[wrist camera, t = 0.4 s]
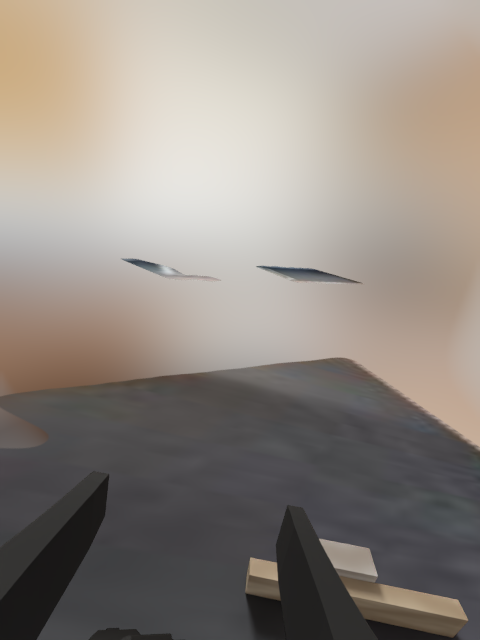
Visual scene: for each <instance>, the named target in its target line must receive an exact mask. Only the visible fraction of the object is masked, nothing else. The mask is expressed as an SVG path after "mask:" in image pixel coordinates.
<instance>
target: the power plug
mask: <svg viewBox="0 0 480 640" xmlns="http://www.w3.org/2000/svg"><path fill="white" fill-rule="evenodd" d="M89 640H173V639H172V638H171V634H151V635H140V633H139V632H138V631H137V630H136V629H128V630H120V629H119V628H107V629H106V630H98V631H97V632H96V633H95V634H94V635H93V636H92V637H91V638H90V639H89Z"/></svg>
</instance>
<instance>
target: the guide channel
mask: <svg viewBox="0 0 480 640" xmlns="http://www.w3.org/2000/svg"><path fill="white" fill-rule="evenodd" d="M319 540H320V542H321V544H322V546H323V548H324V550H325V552H326V553H327V555H328V557H329V559H330V561H331V563H332V564H333V566H334V568H335V570H336V571H337V573H338V575H339V577H340V578H341V580H342V582H343V584H344V585H345V587H346V589H347V591H348V592H349V594H350V596H351V597H352V599H353V601H354V602H355V604H356V605H357V607H358V609H359V610H360V612H361V614H362V615H363V617H364V618H365V619H368V620H373V621H377V622H382V623H387V624H391V625H396V626H401V627H405V628H410V629H415V630H419V631H424V632H429V633H433V634H438V635H443V636H447V637H452V638H453V637H454V636H455V635H456V634H457V633H458V632H459V631H460V630H461V628H462V627H463V626H464V625H465V624H466V623H467V622H468V619H467V617H466V615H465V613H464V611H463V609H462V607H461V605H460V603H459V601H458V600H456V599H451V598H446V597H441V596H436V595H431V594H427V593H422V592H417V591H412V590H407V589H402V588H397V587H392V586H387V585H382V584H377V583H375V581H376V579H377V577H378V575H377V572H376V569H375V566H374V563H373V559H372V556H371V553H370V550H369V548H364V547H359V546H354V545H349V544H343V543H338V542H333V541H328V540H323V539H319ZM246 593H247V594H251V595H256V596H261V597H265V598H270V599H275V600H279V601H281V599H280V591H279V584H278V572H277V563H274V562H270V561H265V560H260V559H255V558H250V562H249V567H248V572H247V578H246Z"/></svg>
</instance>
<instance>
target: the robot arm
mask: <svg viewBox="0 0 480 640" xmlns="http://www.w3.org/2000/svg"><path fill="white" fill-rule="evenodd" d="M108 481H109V474H106V473H101V472H95V471H94V472H92V473H90V474H89V475H88V476H87V477H86V478H85V479H84V480H82V481H81V482H80V483H79V484H78V485H77V486H76V487H74V488H73V489H72V490H71V491H70V492H69V493H67V494H66V495H65V496H64V497H63V498H62V499H60V500H59V501H58V502H57V503H56V504H54V505H53V506H52V507H51V508H50V509H48V510H47V511H46V512H45V513H43V514H42V515H41V516H40V517H39V518H37V519H36V520H35V521H34V522H32V523H31V524H30V525H29V526H27V527H26V528H25V529H24V530H22V531H21V532H20V533H18V534H17V535H16V536H14V537H13V538H12V539H10V540H9V541H8V542H7V543H5V544H4V545H3V546H1V547H0V640H36V639H37V638H38V636H39V634H40V632H41V631H42V629H43V627H44V626H45V624H46V622H47V620H48V619H49V617H50V615H51V614H52V612H53V610H54V608H55V607H56V605H57V603H58V602H59V600H60V598H61V596H62V595H63V593H64V591H65V590H66V588H67V586H68V585H69V583H70V581H71V579H72V578H73V576H74V574H75V572H76V571H77V569H78V567H79V566H80V564H81V562H82V560H83V559H84V557H85V555H86V553H87V552H88V550H89V548H90V546H91V544H92V542H93V540H94V538H95V536H96V534H97V531H98V529H99V527H100V525H101V523H102V521H103V519H104V516H105V510H106V500H107V491H108ZM276 554H277V572H278V584H279V591H280V599H281V606H282V613H283V620H284V627H285V634H286V640H378V639H377V637H376V636H375V634H374V633H373V631H372V629H371V628H370V626H369V625H368V623H367V622H366V620H365V618H364V617H363V615H362V614H361V612H360V610H359V609H358V607H357V605H356V604H355V602H354V601H353V599H352V597H351V596H350V594H349V592H348V591H347V589H346V587H345V585H344V584H343V582H342V580H341V578H340V577H339V575H338V573H337V571H336V570H335V568H334V566H333V564H332V563H331V561H330V559H329V557H328V555H327V553H326V552H325V550H324V548H323V546H322V544H321V542H320V540H319V538H318V537H317V535H316V533H315V531H314V529H313V527H312V525H311V523H310V521H309V519H308V517H307V515H306V513H305V511H304V509H303V508H301V507H295V506H289V505H288V506H287V509H286V512H285V516H284V519H283V523H282V526H281V529H280V533H279V536H278V540H277V543H276Z"/></svg>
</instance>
